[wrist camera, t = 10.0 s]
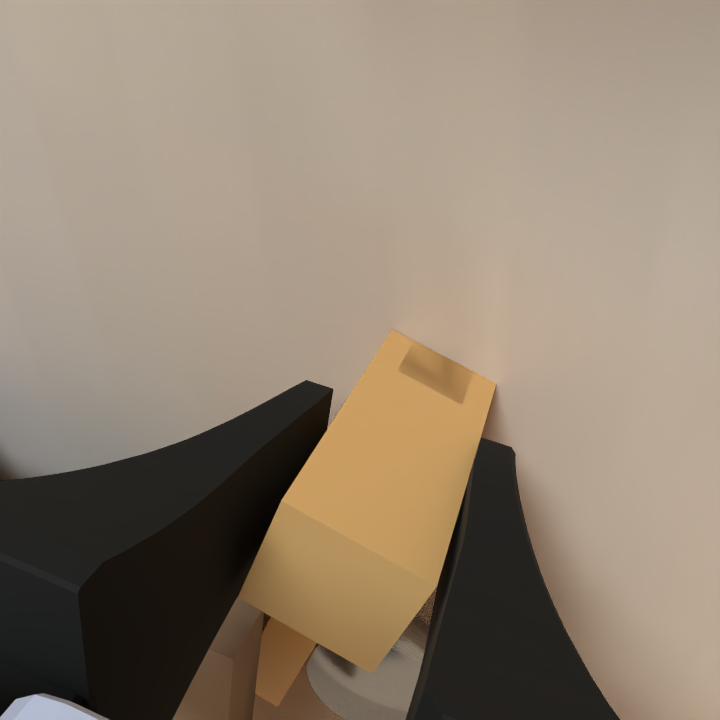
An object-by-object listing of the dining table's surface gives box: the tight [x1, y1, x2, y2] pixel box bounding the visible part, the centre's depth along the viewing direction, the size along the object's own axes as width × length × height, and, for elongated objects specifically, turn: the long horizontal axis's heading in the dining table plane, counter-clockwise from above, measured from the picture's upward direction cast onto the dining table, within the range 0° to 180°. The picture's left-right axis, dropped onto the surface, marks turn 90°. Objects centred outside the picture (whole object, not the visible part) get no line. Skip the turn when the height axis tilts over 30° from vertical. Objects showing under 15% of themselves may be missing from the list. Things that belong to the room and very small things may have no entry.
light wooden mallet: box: [238, 330, 496, 707], centre depth 16 cm, size 3×13×6 cm, turn 158°
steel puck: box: [306, 617, 429, 720], centre depth 20 cm, size 4×4×2 cm
